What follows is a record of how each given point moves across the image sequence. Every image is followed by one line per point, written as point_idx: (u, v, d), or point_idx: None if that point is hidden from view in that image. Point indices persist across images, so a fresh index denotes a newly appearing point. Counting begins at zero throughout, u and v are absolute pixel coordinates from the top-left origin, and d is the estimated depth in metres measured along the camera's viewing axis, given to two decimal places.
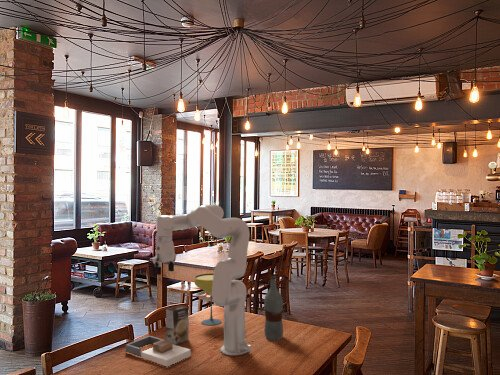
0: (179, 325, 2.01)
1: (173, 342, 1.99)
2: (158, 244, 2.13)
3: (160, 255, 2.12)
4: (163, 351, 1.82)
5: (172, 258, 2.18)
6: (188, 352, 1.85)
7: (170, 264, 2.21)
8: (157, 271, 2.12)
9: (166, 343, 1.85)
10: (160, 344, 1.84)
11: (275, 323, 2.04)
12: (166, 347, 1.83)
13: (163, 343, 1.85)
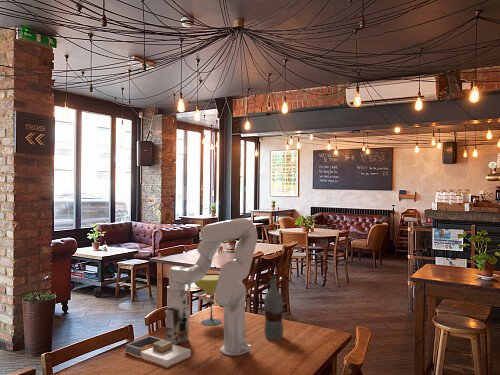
0: (179, 325, 2.01)
1: (173, 342, 1.99)
2: (183, 298, 2.01)
3: (186, 308, 2.02)
4: (163, 351, 1.82)
5: None
6: (188, 352, 1.85)
7: None
8: (184, 327, 2.01)
9: (166, 343, 1.85)
10: (160, 344, 1.84)
11: (275, 323, 2.04)
12: (166, 347, 1.83)
13: (163, 343, 1.85)
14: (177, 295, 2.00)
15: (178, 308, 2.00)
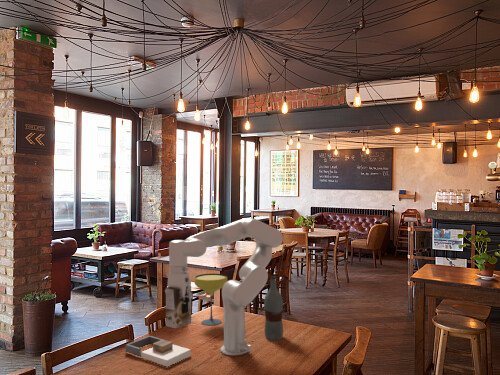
0: (180, 305, 1.77)
1: (174, 325, 1.75)
2: (185, 275, 1.77)
3: (189, 287, 1.78)
4: (163, 351, 1.82)
5: None
6: (188, 352, 1.85)
7: None
8: (187, 308, 1.77)
9: (166, 343, 1.85)
10: (160, 344, 1.84)
11: (275, 323, 2.04)
12: (166, 347, 1.83)
13: (163, 343, 1.85)
14: (178, 272, 1.76)
15: (180, 287, 1.76)
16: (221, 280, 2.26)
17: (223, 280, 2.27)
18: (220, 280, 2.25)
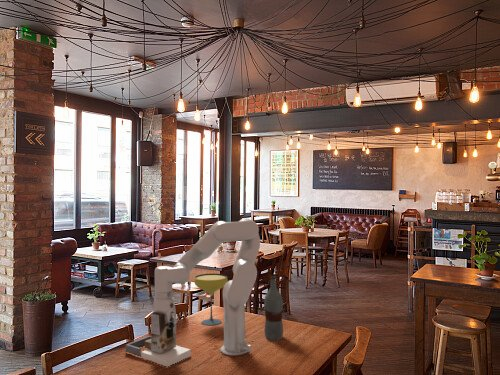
0: (165, 330, 1.82)
1: (159, 350, 1.80)
2: (170, 301, 1.82)
3: (174, 312, 1.83)
4: None
5: None
6: (188, 352, 1.85)
7: None
8: (171, 333, 1.83)
9: None
10: None
11: (275, 323, 2.04)
12: None
13: None
14: (164, 298, 1.81)
15: (165, 312, 1.81)
16: (221, 280, 2.26)
17: (223, 280, 2.27)
18: (220, 280, 2.25)
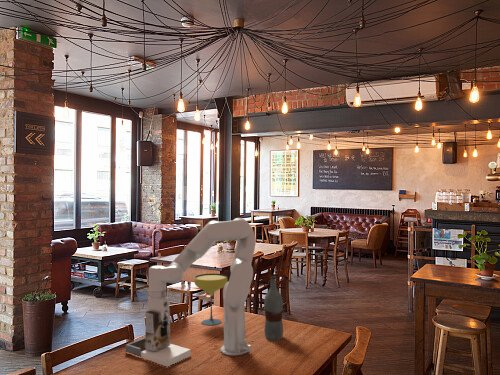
0: (159, 329, 1.84)
1: (153, 348, 1.82)
2: (164, 300, 1.84)
3: (168, 311, 1.86)
4: None
5: None
6: (188, 352, 1.85)
7: None
8: (165, 332, 1.85)
9: None
10: None
11: (275, 323, 2.04)
12: None
13: None
14: (157, 297, 1.84)
15: (159, 311, 1.83)
16: (221, 280, 2.26)
17: (223, 280, 2.27)
18: (220, 280, 2.25)
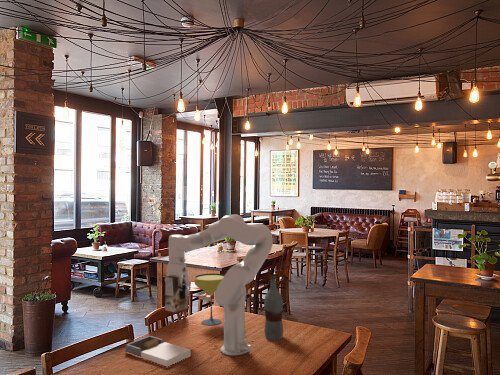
0: (178, 292, 2.01)
1: (173, 309, 1.99)
2: (183, 265, 2.01)
3: (186, 276, 2.02)
4: (149, 346, 1.87)
5: None
6: (188, 352, 1.85)
7: None
8: (184, 295, 2.02)
9: (151, 340, 1.91)
10: (145, 342, 1.90)
11: (275, 323, 2.04)
12: (151, 343, 1.89)
13: None
14: (177, 262, 2.00)
15: (178, 275, 2.00)
16: (221, 280, 2.26)
17: None
18: (220, 280, 2.25)
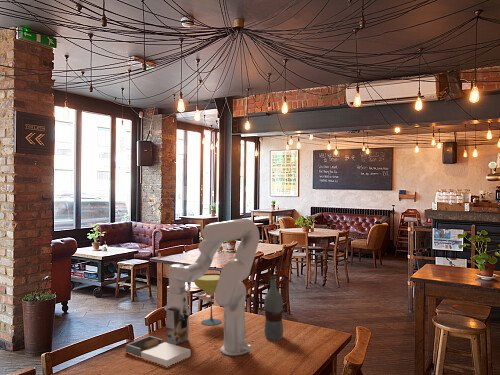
0: (179, 325, 2.00)
1: (173, 342, 1.99)
2: (183, 295, 2.01)
3: (187, 306, 2.02)
4: (149, 346, 1.87)
5: None
6: (188, 352, 1.85)
7: None
8: (186, 324, 2.01)
9: (151, 340, 1.91)
10: (145, 342, 1.90)
11: (275, 323, 2.04)
12: (151, 343, 1.89)
13: None
14: (177, 293, 2.00)
15: (178, 306, 2.00)
16: None
17: None
18: None
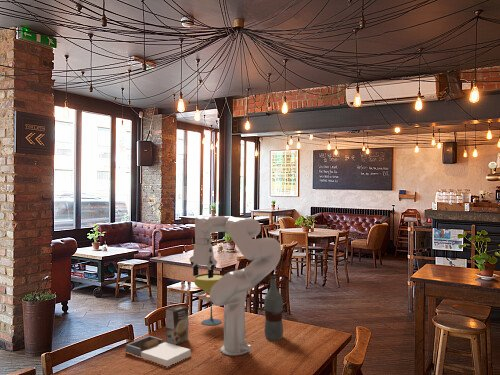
0: (179, 325, 2.00)
1: (173, 342, 1.99)
2: (209, 246, 2.05)
3: (212, 257, 2.06)
4: (149, 346, 1.87)
5: None
6: (188, 352, 1.85)
7: (196, 268, 2.10)
8: (212, 274, 2.04)
9: (151, 340, 1.91)
10: (145, 342, 1.90)
11: (275, 323, 2.04)
12: (151, 343, 1.89)
13: None
14: (203, 243, 2.04)
15: (204, 256, 2.04)
16: None
17: None
18: None
